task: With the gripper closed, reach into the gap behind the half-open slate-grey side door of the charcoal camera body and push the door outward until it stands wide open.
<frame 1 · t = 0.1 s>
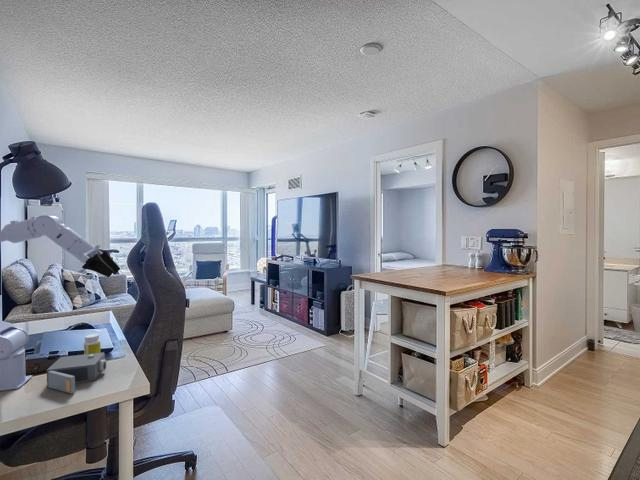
hand: (114, 272, 105), 32 cm above the table, tool tilted 50°, fingers open, 7 cm apart
side door: (60, 382, 93), point 3 cm above the table, hinge at 40.0°
supplement bottle: (92, 359, 116), on the table
camera body: (77, 376, 103), on the table
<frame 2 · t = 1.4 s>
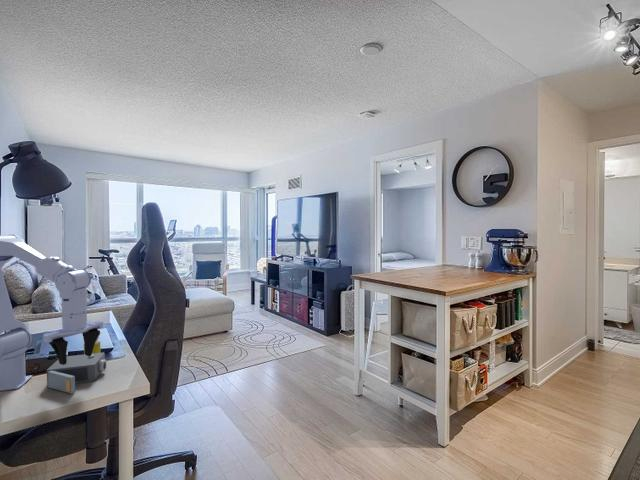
hand: (76, 359, 95), 8 cm above the table, tool pointing down, fingers open, 6 cm apart
nothing on the table moved.
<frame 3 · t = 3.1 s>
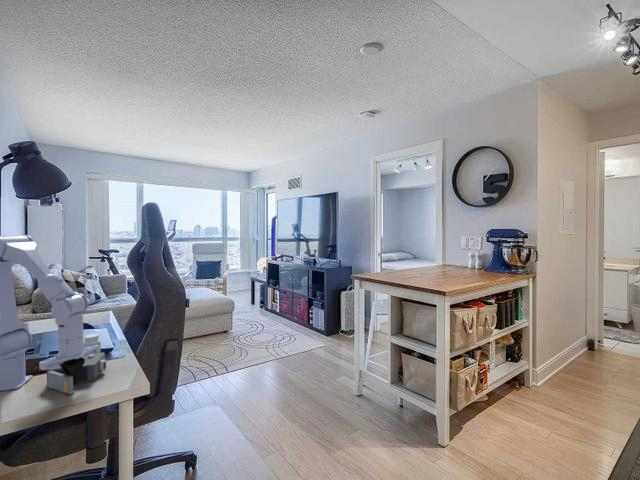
hand: (72, 384, 94), 1 cm above the table, tool pointing down, fingers closed
side door: (59, 382, 93), point 3 cm above the table, hinge at 42.7°, touching gripper
everything else where it was.
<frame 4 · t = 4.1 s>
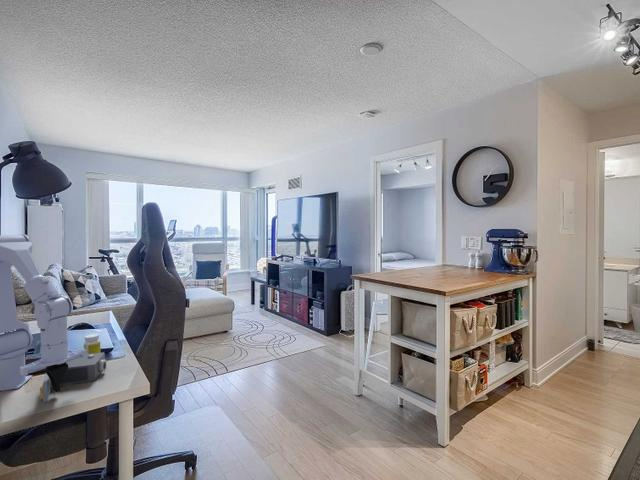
hand: (56, 391, 91), 1 cm above the table, tool pointing down, fingers closed
side door: (45, 385, 91), point 3 cm above the table, hinge at 74.0°, touching gripper
everything else where it was.
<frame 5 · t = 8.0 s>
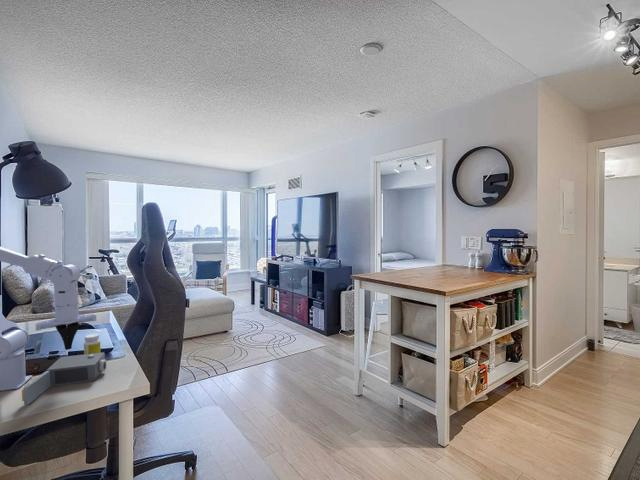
hand: (68, 348, 101), 9 cm above the table, tool pointing down, fingers closed
side door: (36, 386, 91), point 3 cm above the table, hinge at 96.4°
everything else where it was.
at the end: side door at +96° (first picture: +40°); supplement bottle moved 0.2 cm from its start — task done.
